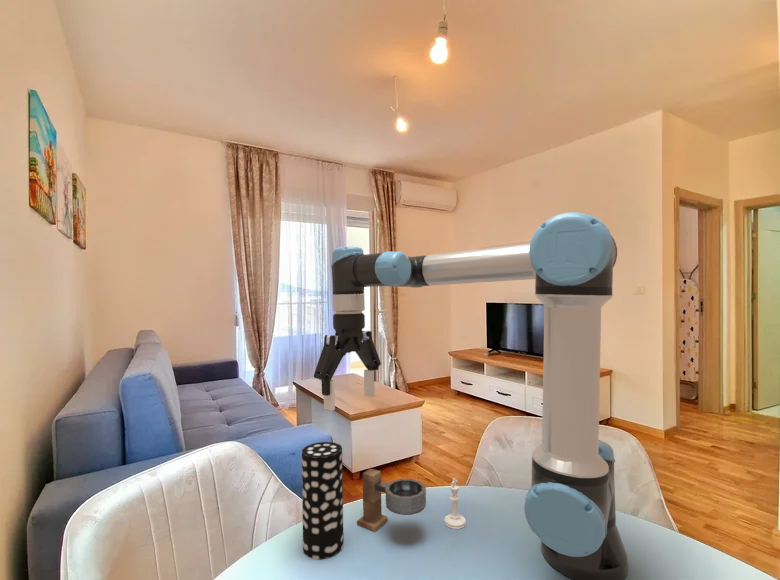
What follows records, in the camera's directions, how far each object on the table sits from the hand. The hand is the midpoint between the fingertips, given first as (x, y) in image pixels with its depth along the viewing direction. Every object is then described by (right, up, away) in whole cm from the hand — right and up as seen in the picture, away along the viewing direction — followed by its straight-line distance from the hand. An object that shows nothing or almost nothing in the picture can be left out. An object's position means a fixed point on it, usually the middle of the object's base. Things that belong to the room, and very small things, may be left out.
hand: (350, 402), depth 92 cm
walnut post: (+5, -27, -3) cm, 27 cm away
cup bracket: (+11, -20, -6) cm, 23 cm away
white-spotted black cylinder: (-5, -27, -11) cm, 29 cm away
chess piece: (+24, -27, -3) cm, 36 cm away
